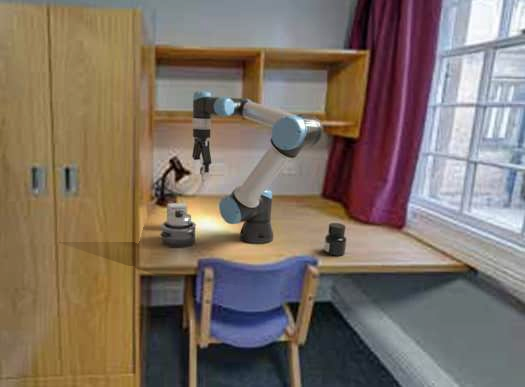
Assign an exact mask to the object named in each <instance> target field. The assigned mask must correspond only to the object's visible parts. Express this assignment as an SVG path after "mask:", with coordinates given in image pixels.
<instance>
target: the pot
mask: <svg viewBox="0 0 525 387" xmlns="http://www.w3.org/2000/svg"><path fill="white" fill-rule="evenodd" d="M196 226H197V223H195V222H194V221H192V220H191V227H189V228H185V229H171V228H167V220H166V221H163V222H162V223H161V233H160V237H161V244H162V245H163V246H164V247H167V248H172V249H173V248H174V249H182V248H189V247H191V246H193V245H195V243H196Z"/></svg>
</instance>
